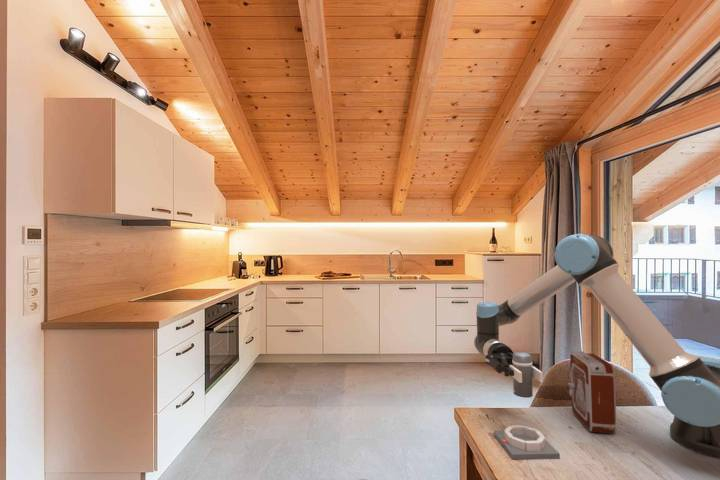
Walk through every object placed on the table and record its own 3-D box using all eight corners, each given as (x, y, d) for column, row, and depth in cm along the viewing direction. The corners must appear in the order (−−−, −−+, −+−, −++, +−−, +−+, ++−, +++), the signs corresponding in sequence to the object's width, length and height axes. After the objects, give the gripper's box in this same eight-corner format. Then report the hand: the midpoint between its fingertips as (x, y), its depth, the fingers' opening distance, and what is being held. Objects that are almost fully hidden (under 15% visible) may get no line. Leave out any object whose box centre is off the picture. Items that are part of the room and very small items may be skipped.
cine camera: (591, 407, 118) (589, 346, 119) (622, 437, 99) (620, 364, 100) (561, 405, 120) (559, 345, 121) (586, 434, 101) (583, 363, 102)
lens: (527, 390, 104) (526, 351, 105) (536, 397, 99) (535, 356, 99) (509, 390, 104) (508, 351, 105) (517, 397, 99) (516, 357, 99)
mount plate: (535, 434, 101) (535, 422, 101) (559, 458, 89) (559, 445, 89) (493, 435, 101) (493, 423, 101) (512, 459, 89) (512, 446, 89)
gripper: (525, 364, 120) (564, 391, 96) (471, 364, 120) (498, 391, 96) (524, 341, 120) (563, 363, 97) (471, 342, 120) (497, 363, 97)
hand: (531, 377), depth 97 cm, fingers closed on lens, 5 cm apart
